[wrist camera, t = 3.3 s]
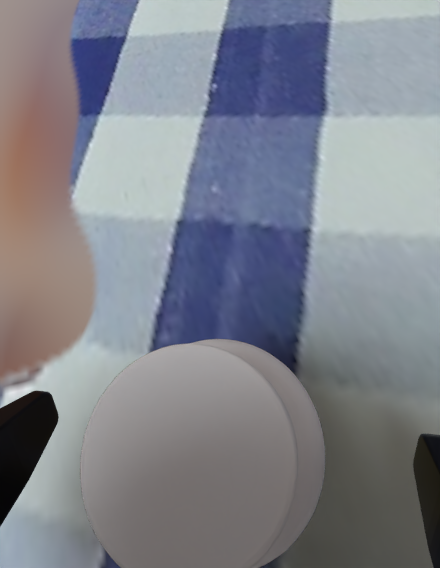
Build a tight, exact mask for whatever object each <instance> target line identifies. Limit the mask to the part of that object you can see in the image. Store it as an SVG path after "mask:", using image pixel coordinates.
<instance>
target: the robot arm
mask: <svg viewBox="0 0 440 568" xmlns="http://www.w3.org/2000/svg"><path fill="white" fill-rule="evenodd" d="M57 422H58V412H57V409H56V406H55V403H54V400H53V397H52V395H51V394H50V393H49V392H44V391H33V392H31V393H29V394H27V395H25V396H23V397H21V398H19V399H17V400H16V401H14V402H12V403H10V404H8V405H6V406H4V407H2V408H0V526H1V525H2V523H3V521H4V520H5V518H6V516H7V515H8V513H9V512H10V510H11V508H12V507H13V505H14V503H15V502H16V500H17V499H18V497H19V495H20V494H21V492H22V490H23V489H24V487H25V485H26V484H27V482H28V480H29V478H30V476H31V475H32V473H33V471H34V469H35V467H36V465H37V463H38V461H39V459H40V457H41V455H42V453H43V451H44V449H45V447H46V445H47V443H48V441H49V439H50V437H51V435H52V433H53V431H54V429H55V427H56V425H57ZM413 468H414V475H415V480H416V485H417V491H418V496H419V501H420V507H421V512H422V517H423V522H424V528H425V533H426V538H427V543H428V548H429V552H430V556H431V560H432V563H433V567H434V568H440V435H433V434H421V435H420V436H419V439H418V443H417V447H416V452H415V456H414V461H413Z"/></svg>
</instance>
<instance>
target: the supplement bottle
mask: <svg viewBox="0 0 440 568" xmlns="http://www.w3.org/2000/svg"><path fill="white" fill-rule="evenodd" d="M324 474H325V445H324V437H323V432H322V427H321V424H320V420H319V417H318V414H317V411H316V409H315V406H314V404H313V402H312V400H311V398H310V396H309V394H308V393H307V391H306V389H305V388H304V386H303V385H302V383H301V382H300V381H299V380H298V378H297V377H296V376H295V375H294V374H293V372H292V371H291V370H290V369H289V368H288V367H287V366H286V365H284V364H283V363H282V362H281V361H279V360H278V359H277V358H275V357H274V356H273V355H271V354H269V353H268V352H266V351H264V350H262V349H260V348H258V347H256V346H253V345H250V344H247V343H244V342H240V341H235V340H227V339H210V340H202V341H198V342H194V343H190V344H178V345H172V346H168V347H164V348H160V349H158V350H155V351H153V352H151V353H148V354H146V355H145V356H143V357H141V358H139V359H138V360H136V361H134V362H133V363H132V364H130V365H129V366H128V367H126V368H125V369H124V370H123V371H122V372H121V373H120V374H119V375H118V376H117V377H116V378H115V379H114V380H113V382H112V383H111V384H110V385H109V386H108V388H107V389H106V390H105V392H104V393H103V395H102V396H101V397H100V399H99V401H98V403H97V405H96V407H95V409H94V411H93V413H92V415H91V418H90V420H89V422H88V425H87V428H86V432H85V435H84V440H83V445H82V452H81V462H80V479H81V490H82V496H83V501H84V506H85V510H86V513H87V516H88V519H89V522H90V524H91V526H92V529H93V531H94V533H95V535H96V536H97V538H98V540H99V542H100V543H101V545H102V546H103V548H104V549H105V550H106V552H107V553H108V554H109V555H110V557H111V558H112V559H113V560H114V561H115V563H117V564H118V565H119V566H120V567H121V568H259V567H261V566H263V565H265V564H267V563H269V562H271V561H272V560H274V559H275V558H277V557H278V556H280V555H281V554H283V553H284V552H285V551H286V550H287V549H288V548H289V547H290V546H291V545H292V544H293V543H294V542H295V541H296V540H297V538H298V537H299V536H300V534H301V533H302V532H303V531H304V529H305V528H306V526H307V524H308V523H309V521H310V519H311V517H312V515H313V513H314V511H315V509H316V506H317V503H318V501H319V498H320V494H321V491H322V486H323V481H324Z"/></svg>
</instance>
